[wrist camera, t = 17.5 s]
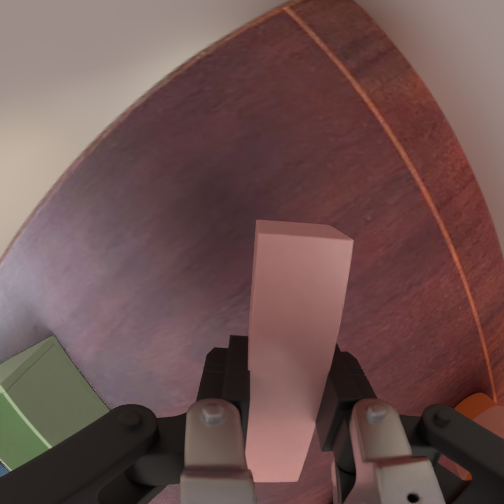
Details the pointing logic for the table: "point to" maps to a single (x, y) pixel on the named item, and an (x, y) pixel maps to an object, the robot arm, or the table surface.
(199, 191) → the table surface
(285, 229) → the pink stick
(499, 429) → the cup with straw
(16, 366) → the bin
